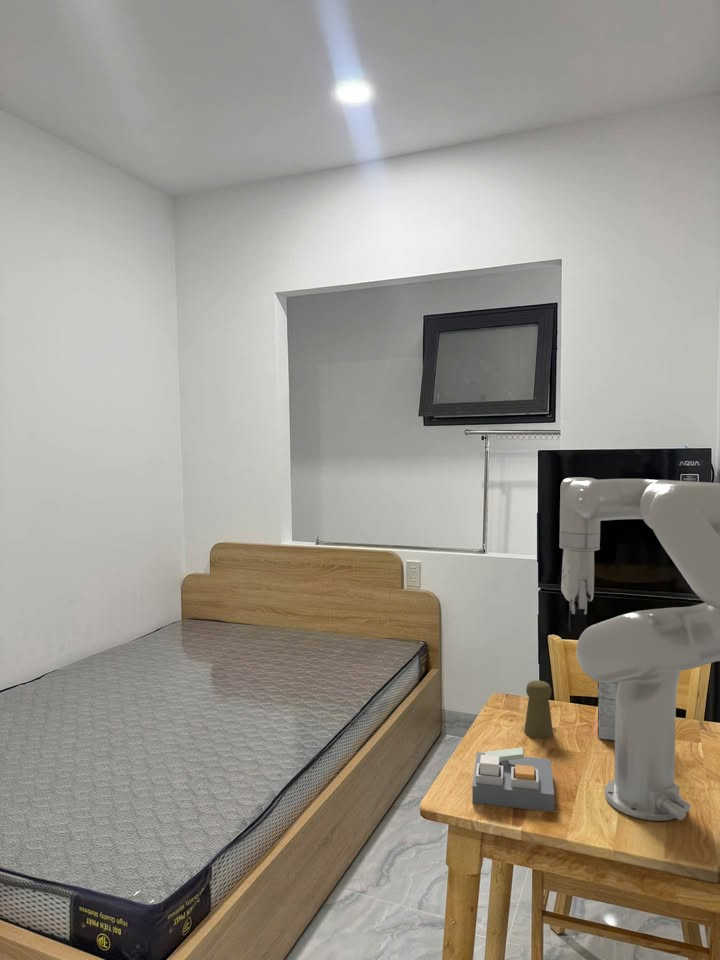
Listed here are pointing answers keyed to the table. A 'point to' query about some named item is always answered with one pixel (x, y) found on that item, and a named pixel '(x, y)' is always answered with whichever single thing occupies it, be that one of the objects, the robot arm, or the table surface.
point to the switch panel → (515, 785)
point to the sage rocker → (507, 754)
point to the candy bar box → (607, 710)
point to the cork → (538, 711)
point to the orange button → (524, 772)
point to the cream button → (489, 765)
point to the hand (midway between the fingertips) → (577, 632)
